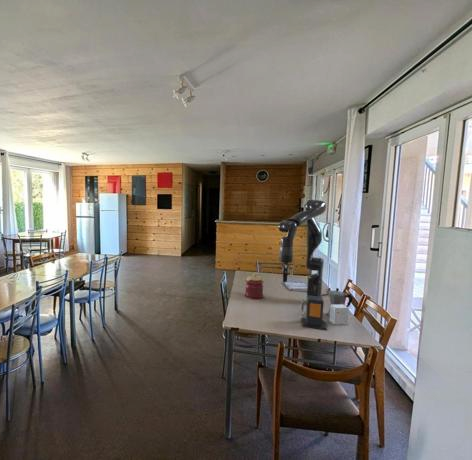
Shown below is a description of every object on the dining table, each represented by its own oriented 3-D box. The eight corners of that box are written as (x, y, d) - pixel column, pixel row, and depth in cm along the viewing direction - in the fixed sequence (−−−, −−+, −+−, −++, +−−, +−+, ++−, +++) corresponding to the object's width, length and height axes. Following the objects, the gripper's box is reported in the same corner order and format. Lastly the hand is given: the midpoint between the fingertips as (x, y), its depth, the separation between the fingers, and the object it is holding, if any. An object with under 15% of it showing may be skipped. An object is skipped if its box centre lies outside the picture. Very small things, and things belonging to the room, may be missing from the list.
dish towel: (290, 290, 236) (290, 287, 236) (282, 282, 260) (282, 279, 259) (312, 291, 235) (312, 288, 234) (302, 283, 258) (302, 280, 258)
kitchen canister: (256, 300, 212) (257, 276, 211) (241, 296, 222) (242, 273, 220) (266, 296, 221) (267, 274, 219) (251, 292, 230) (252, 270, 229)
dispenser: (301, 318, 179) (303, 293, 178) (323, 322, 175) (325, 296, 173) (302, 326, 168) (304, 299, 166) (326, 330, 164) (327, 302, 162)
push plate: (301, 307, 176) (301, 298, 176) (302, 307, 176) (303, 298, 175) (301, 310, 170) (301, 302, 170) (303, 310, 170) (303, 302, 169)
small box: (341, 321, 177) (343, 304, 176) (347, 324, 171) (349, 307, 170) (329, 321, 176) (330, 304, 175) (334, 324, 171) (335, 307, 170)
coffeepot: (321, 314, 186) (323, 287, 184) (327, 311, 193) (328, 284, 191) (348, 322, 175) (351, 293, 173) (353, 318, 181) (355, 289, 180)
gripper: (293, 256, 168) (291, 283, 169) (292, 252, 181) (291, 278, 182) (279, 255, 170) (278, 282, 172) (279, 251, 184) (278, 277, 185)
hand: (284, 280), depth 177 cm, fingers open, 8 cm apart
